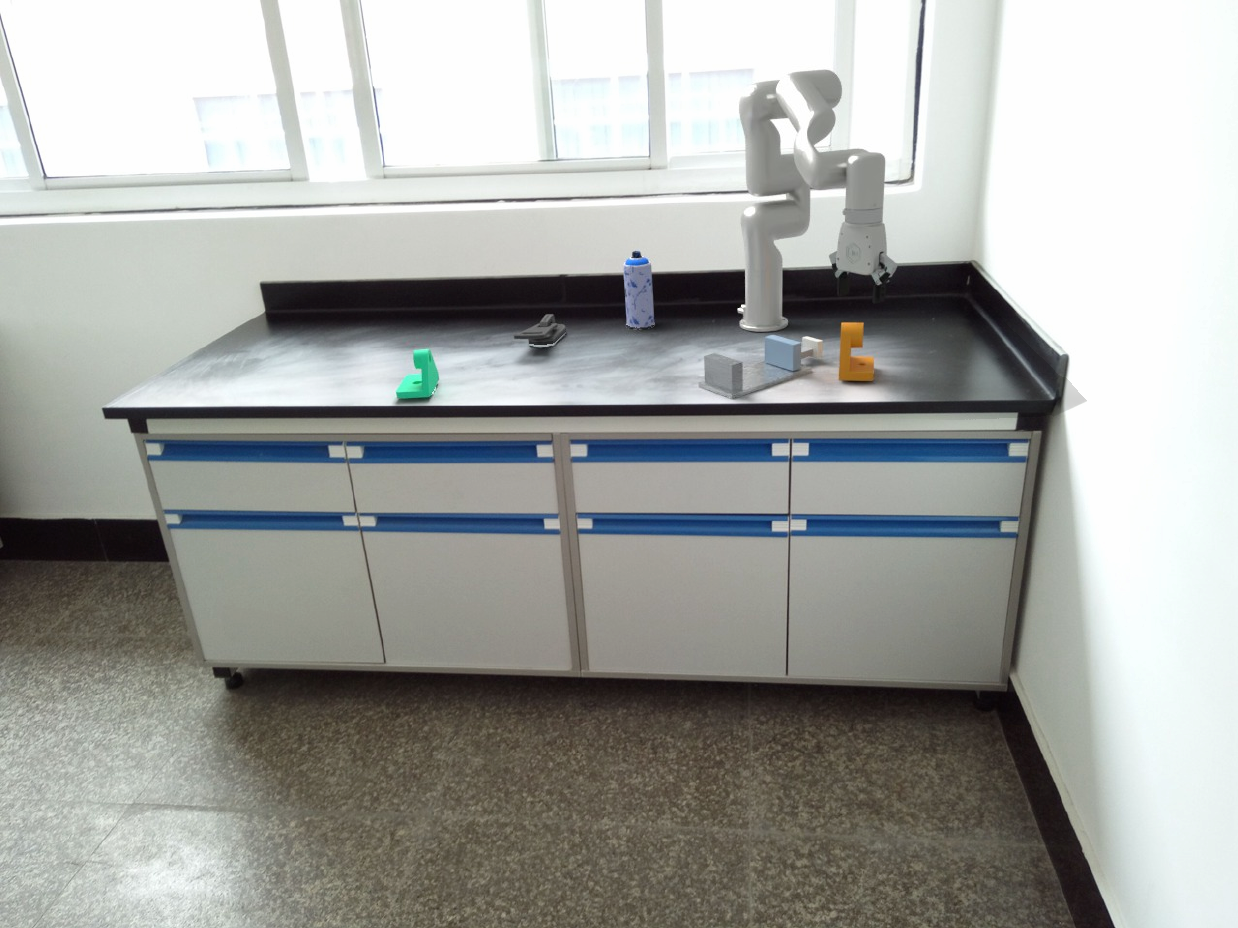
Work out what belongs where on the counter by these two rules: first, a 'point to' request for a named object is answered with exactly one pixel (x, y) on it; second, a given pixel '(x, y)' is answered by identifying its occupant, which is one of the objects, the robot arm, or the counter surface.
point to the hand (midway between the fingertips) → (860, 298)
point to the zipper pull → (543, 332)
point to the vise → (743, 375)
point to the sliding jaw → (791, 351)
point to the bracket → (854, 365)
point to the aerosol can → (638, 291)
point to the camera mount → (420, 377)
